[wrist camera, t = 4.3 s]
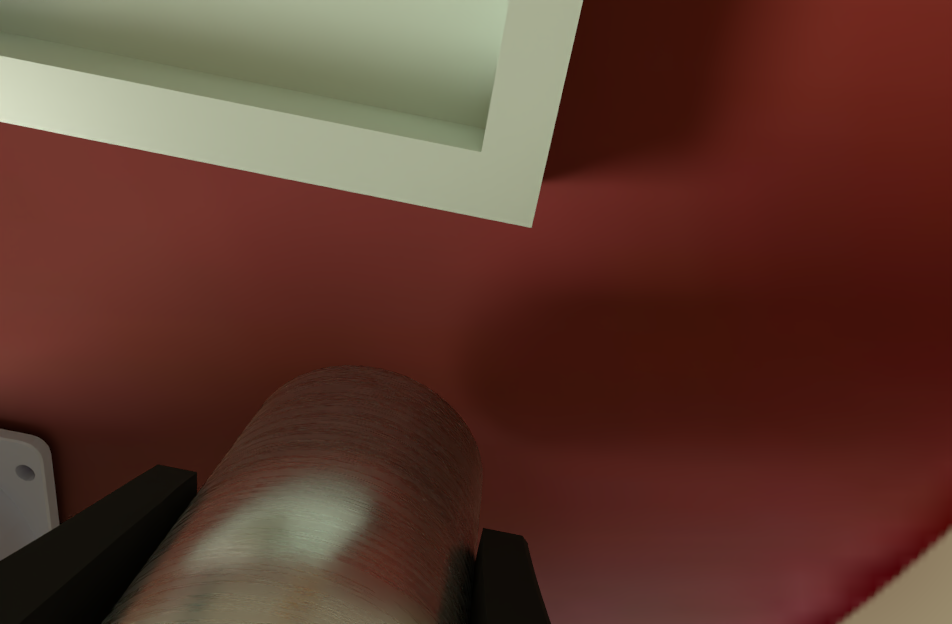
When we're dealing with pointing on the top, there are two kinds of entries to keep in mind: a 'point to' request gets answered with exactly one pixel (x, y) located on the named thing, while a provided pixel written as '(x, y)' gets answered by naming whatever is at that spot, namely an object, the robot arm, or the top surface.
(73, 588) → the robot arm
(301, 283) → the top surface
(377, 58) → the tote
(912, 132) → the top surface
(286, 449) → the tin can
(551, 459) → the top surface
